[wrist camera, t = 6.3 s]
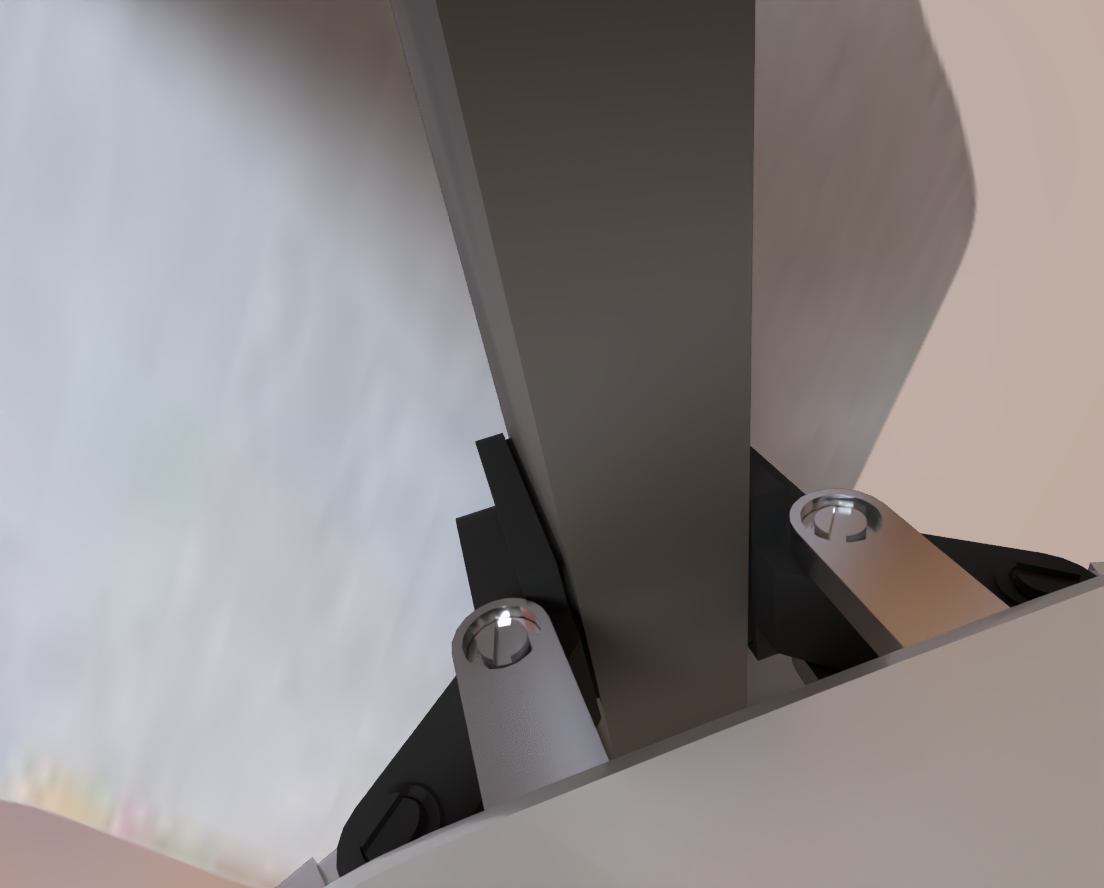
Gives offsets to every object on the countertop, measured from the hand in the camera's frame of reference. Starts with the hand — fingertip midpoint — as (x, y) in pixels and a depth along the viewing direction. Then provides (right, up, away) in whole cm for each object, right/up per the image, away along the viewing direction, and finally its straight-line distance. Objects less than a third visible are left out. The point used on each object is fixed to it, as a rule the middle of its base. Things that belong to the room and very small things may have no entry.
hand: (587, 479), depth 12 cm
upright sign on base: (0, +1, 0) cm, 1 cm away
